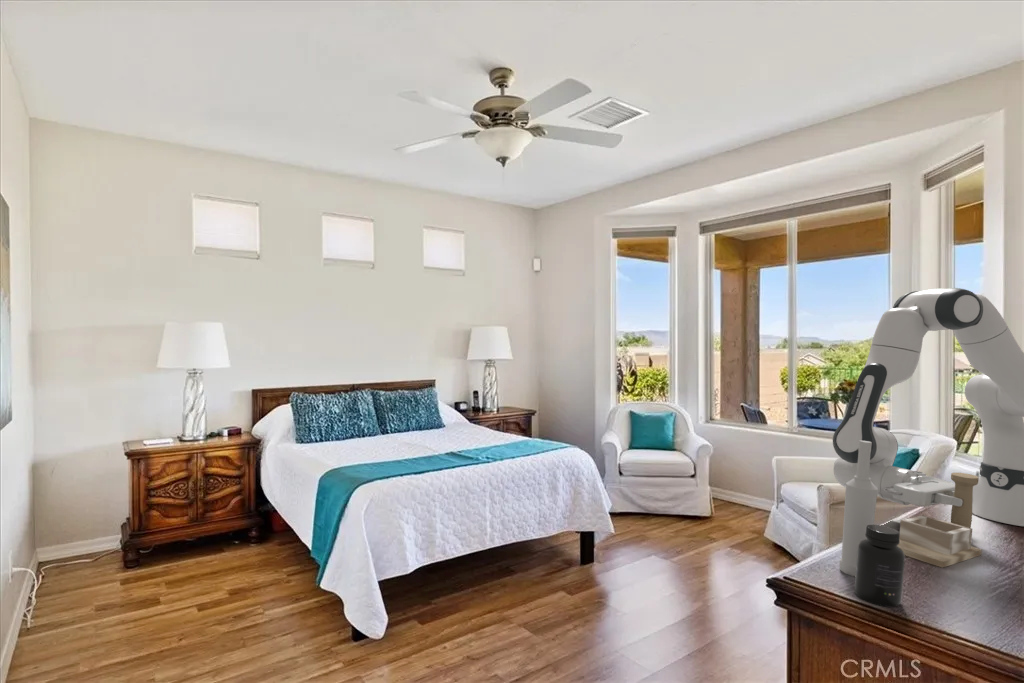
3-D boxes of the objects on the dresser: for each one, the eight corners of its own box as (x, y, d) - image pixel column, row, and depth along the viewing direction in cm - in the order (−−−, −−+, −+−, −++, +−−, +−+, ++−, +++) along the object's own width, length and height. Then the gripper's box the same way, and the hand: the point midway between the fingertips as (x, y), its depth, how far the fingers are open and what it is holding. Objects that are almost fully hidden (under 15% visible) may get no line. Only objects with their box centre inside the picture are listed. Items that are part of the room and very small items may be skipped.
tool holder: (918, 536, 134) (920, 512, 134) (981, 555, 124) (983, 529, 124) (878, 546, 125) (880, 521, 125) (942, 567, 115) (944, 540, 115)
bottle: (847, 576, 106) (858, 443, 106) (833, 565, 112) (844, 437, 111) (876, 579, 106) (887, 445, 106) (860, 568, 111) (871, 440, 111)
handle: (975, 539, 134) (981, 476, 134) (969, 545, 130) (974, 479, 130) (950, 533, 138) (955, 471, 138) (943, 538, 134) (948, 474, 134)
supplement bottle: (845, 587, 102) (851, 520, 101) (885, 591, 101) (891, 523, 101) (867, 606, 95) (873, 534, 94) (910, 610, 94) (916, 537, 94)
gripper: (881, 476, 140) (947, 492, 128) (922, 470, 150) (986, 485, 138) (879, 502, 140) (945, 520, 128) (920, 494, 150) (984, 510, 138)
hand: (967, 501), depth 133 cm, fingers closed on handle, 3 cm apart
